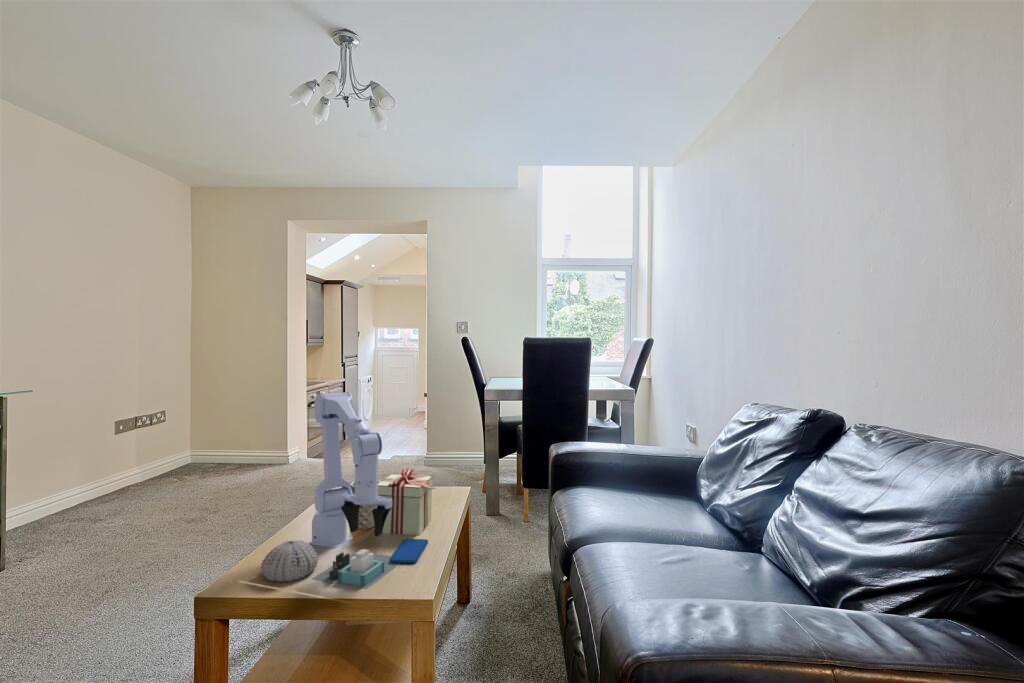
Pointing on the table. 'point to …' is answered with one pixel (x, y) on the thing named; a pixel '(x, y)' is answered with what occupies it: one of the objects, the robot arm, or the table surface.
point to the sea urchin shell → (289, 561)
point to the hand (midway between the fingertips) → (366, 533)
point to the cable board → (344, 576)
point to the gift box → (407, 502)
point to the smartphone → (409, 551)
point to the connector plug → (362, 561)
